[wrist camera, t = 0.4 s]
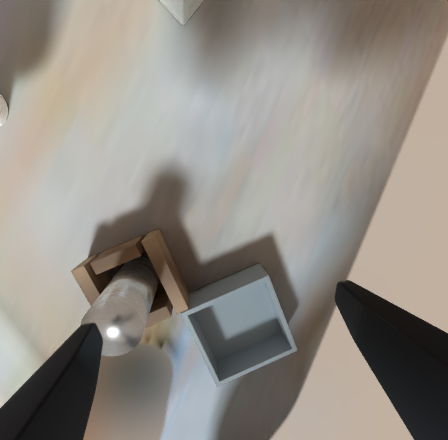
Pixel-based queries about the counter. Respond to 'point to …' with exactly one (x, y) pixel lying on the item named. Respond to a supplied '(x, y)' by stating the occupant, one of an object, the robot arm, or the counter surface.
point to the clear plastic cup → (3, 110)
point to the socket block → (153, 244)
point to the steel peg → (124, 306)
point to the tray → (238, 324)
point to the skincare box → (182, 8)
